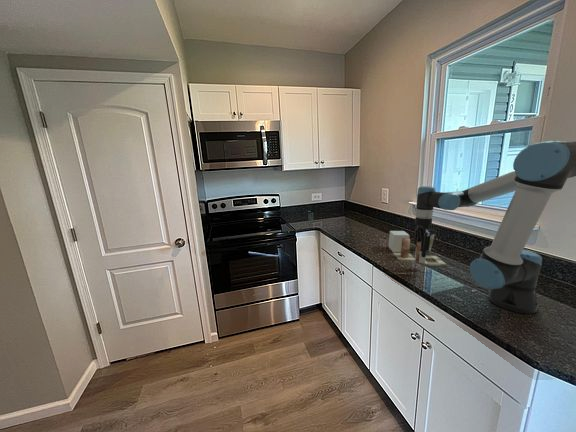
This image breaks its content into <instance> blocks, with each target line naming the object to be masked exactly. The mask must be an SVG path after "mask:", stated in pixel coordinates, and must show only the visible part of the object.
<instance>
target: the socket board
mask: <svg viewBox="0 0 576 432" xmlns="http://www.w3.org/2000/svg"><path fill="white" fill-rule="evenodd" d="M413 257H414V258H415V255H414V256H413ZM427 260H433V261H427ZM421 266H423V267H424V266H427V267H428V266H429V267H447V263H446V262H444V261H443V260H442V259H440V257H438V256H437V255H426V259H425V264H421Z"/></svg>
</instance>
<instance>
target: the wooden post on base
mask: <svg viewBox="0 0 576 432" xmlns="http://www.w3.org/2000/svg"><path fill="white" fill-rule="evenodd" d="M410 245H411V238H410V237H409V238H402V245H401V252H392V254H393V255H394V257H395V258H397V259H398V261H415V257H414V256H413V255H412V254H411V253H410Z"/></svg>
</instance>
